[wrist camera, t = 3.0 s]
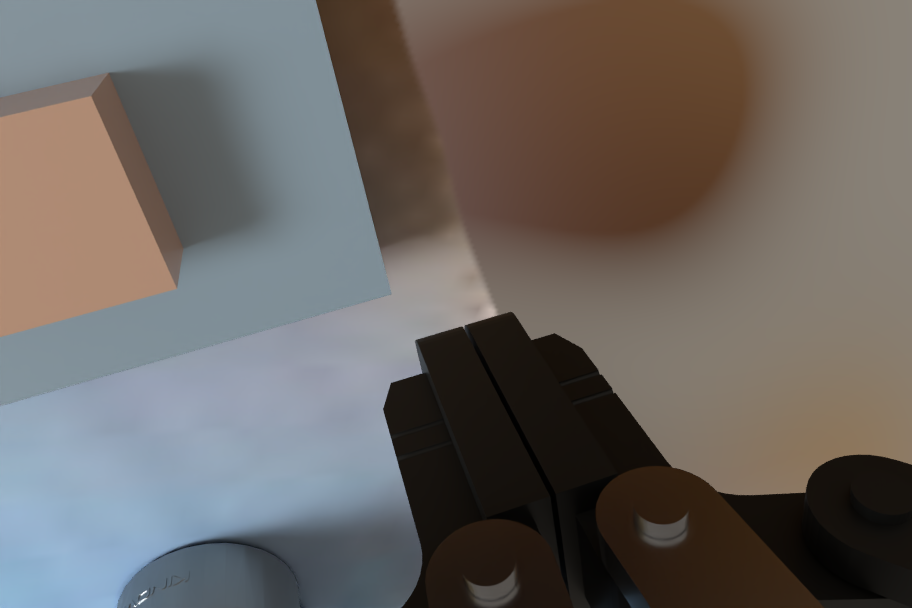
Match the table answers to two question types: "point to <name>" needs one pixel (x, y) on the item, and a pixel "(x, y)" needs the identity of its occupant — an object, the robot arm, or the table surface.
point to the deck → (205, 173)
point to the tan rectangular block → (77, 208)
